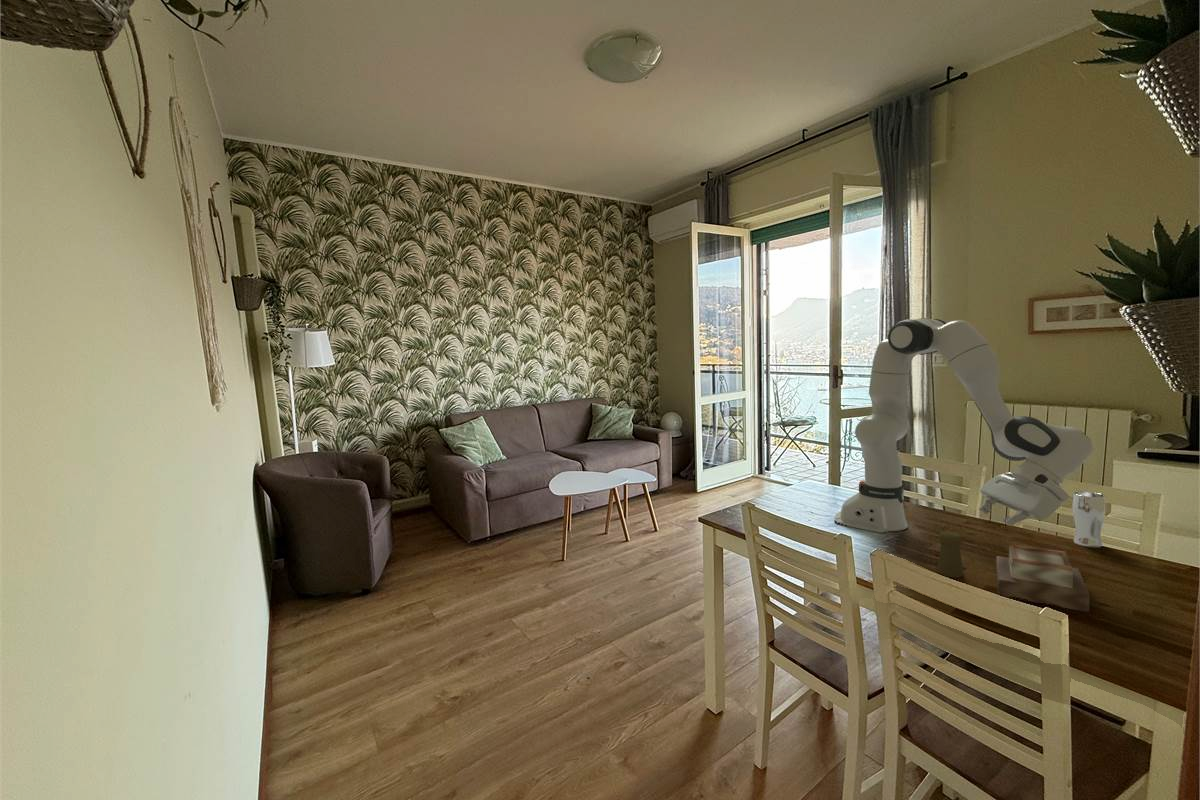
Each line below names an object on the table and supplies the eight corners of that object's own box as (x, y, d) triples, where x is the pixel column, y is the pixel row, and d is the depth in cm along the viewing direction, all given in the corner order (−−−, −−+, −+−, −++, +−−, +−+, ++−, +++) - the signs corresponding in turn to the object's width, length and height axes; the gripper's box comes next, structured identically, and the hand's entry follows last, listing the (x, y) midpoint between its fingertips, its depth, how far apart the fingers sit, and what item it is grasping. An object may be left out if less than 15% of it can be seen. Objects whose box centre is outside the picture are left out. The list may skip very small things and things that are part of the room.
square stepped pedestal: (998, 595, 122) (998, 560, 122) (996, 570, 135) (996, 538, 134) (1088, 612, 113) (1090, 574, 112) (1077, 583, 125) (1078, 549, 125)
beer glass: (1104, 542, 148) (1105, 493, 147) (1104, 550, 143) (1106, 499, 142) (1071, 537, 153) (1073, 489, 152) (1070, 544, 148) (1072, 495, 147)
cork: (968, 577, 132) (968, 537, 131) (943, 577, 133) (943, 537, 132) (956, 567, 138) (956, 529, 137) (932, 567, 139) (932, 528, 138)
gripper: (997, 463, 142) (960, 498, 144) (1056, 482, 121) (1013, 522, 123) (1013, 478, 142) (976, 513, 144) (1076, 499, 122) (1032, 539, 123)
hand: (994, 517), depth 133 cm, fingers open, 8 cm apart
